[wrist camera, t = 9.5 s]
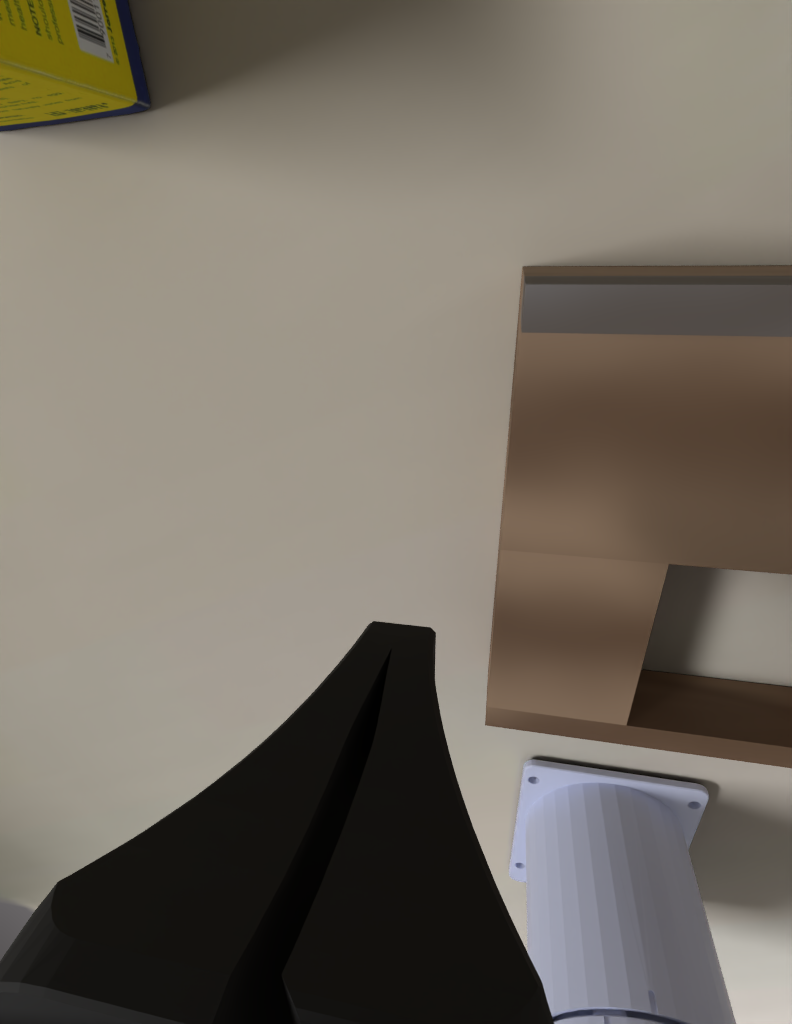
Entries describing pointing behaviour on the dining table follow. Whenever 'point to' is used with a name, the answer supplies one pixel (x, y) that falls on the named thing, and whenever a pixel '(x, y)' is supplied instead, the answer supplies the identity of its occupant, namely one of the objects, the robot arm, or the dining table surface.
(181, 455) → the dining table surface
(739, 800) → the dining table surface
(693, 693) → the deck
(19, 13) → the supplement box
